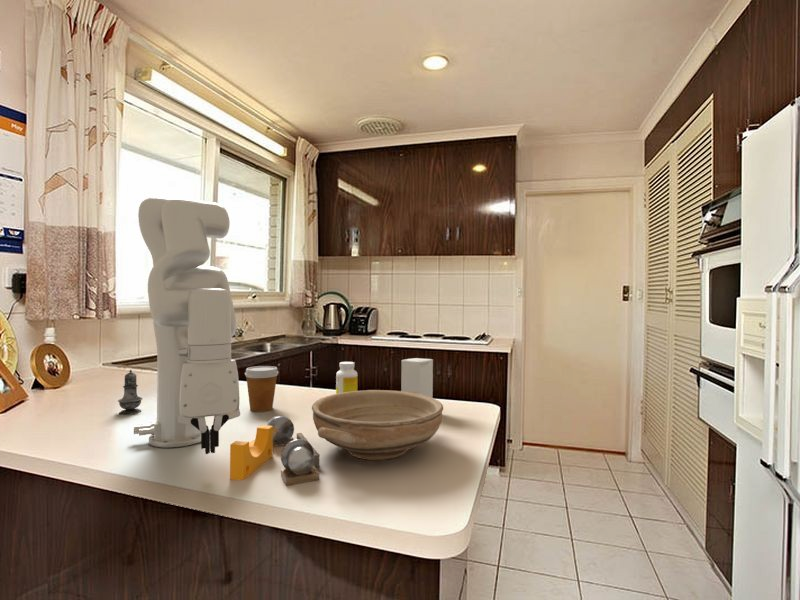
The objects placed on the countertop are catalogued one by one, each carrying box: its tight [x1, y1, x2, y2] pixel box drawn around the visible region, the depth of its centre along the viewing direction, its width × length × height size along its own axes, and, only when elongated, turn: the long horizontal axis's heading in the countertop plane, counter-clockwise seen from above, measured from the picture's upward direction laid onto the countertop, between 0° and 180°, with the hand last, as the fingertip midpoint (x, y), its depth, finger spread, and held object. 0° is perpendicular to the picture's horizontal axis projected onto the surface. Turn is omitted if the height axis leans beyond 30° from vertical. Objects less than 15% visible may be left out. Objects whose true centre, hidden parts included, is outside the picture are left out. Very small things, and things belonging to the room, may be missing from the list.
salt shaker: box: [117, 369, 143, 416], centre depth 121 cm, size 6×6×12 cm
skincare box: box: [400, 357, 434, 398], centre depth 124 cm, size 8×7×16 cm
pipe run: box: [266, 415, 320, 486], centre depth 88 cm, size 8×26×6 cm, turn 26°
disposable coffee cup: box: [244, 365, 280, 413], centre depth 126 cm, size 10×10×12 cm
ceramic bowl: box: [311, 389, 444, 461], centre depth 94 cm, size 37×29×10 cm
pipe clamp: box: [229, 424, 274, 481], centre depth 84 cm, size 12×4×6 cm, turn 171°
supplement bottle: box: [335, 361, 359, 394], centre depth 134 cm, size 7×7×13 cm
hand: (209, 451), depth 81 cm, fingers closed
